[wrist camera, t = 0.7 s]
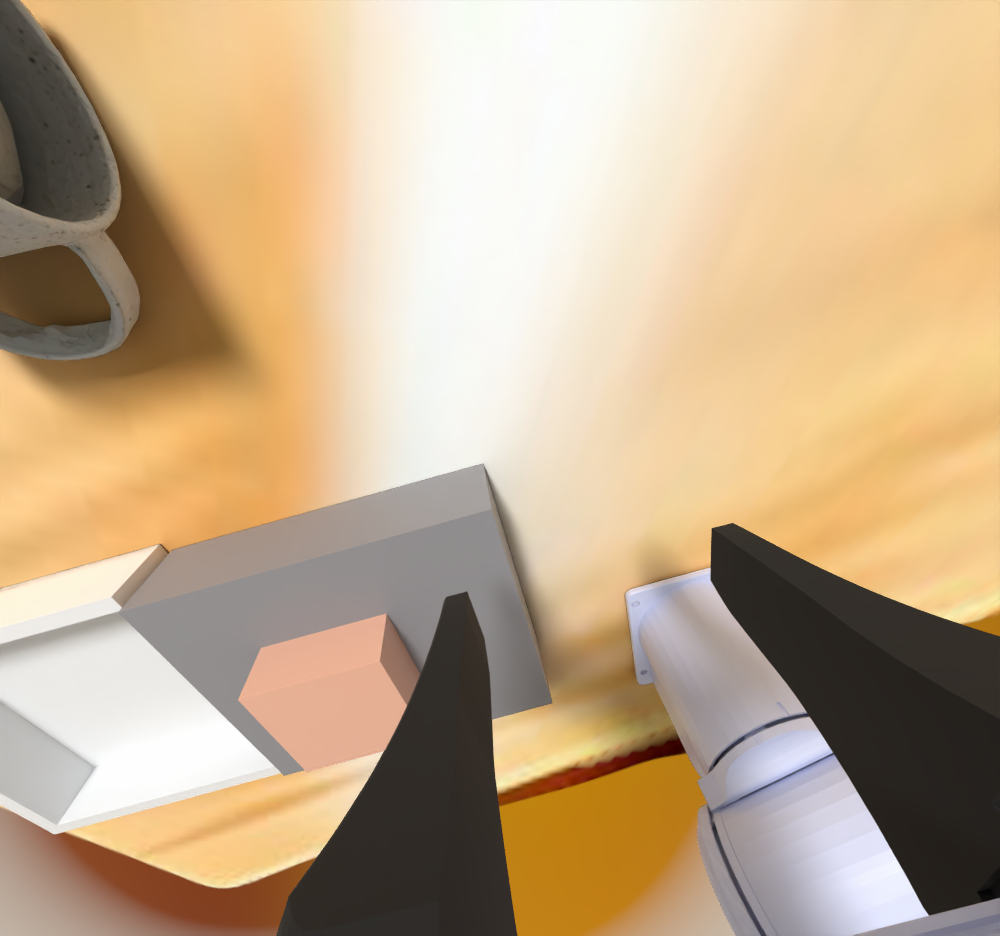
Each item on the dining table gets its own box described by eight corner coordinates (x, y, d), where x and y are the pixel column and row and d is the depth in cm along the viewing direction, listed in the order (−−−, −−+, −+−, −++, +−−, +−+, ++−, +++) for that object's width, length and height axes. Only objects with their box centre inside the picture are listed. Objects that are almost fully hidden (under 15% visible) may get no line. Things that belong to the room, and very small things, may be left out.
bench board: (538, 644, 28) (552, 703, 24) (303, 708, 28) (284, 775, 24) (483, 463, 21) (491, 509, 17) (171, 549, 21) (118, 612, 17)
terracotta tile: (428, 689, 22) (427, 739, 20) (319, 719, 22) (306, 771, 20) (386, 613, 19) (379, 661, 17) (260, 647, 19) (237, 700, 17)
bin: (302, 713, 28) (286, 771, 25) (96, 769, 28) (54, 834, 25) (159, 543, 21) (111, 596, 18) (-119, 621, 21) (-216, 686, 18)
